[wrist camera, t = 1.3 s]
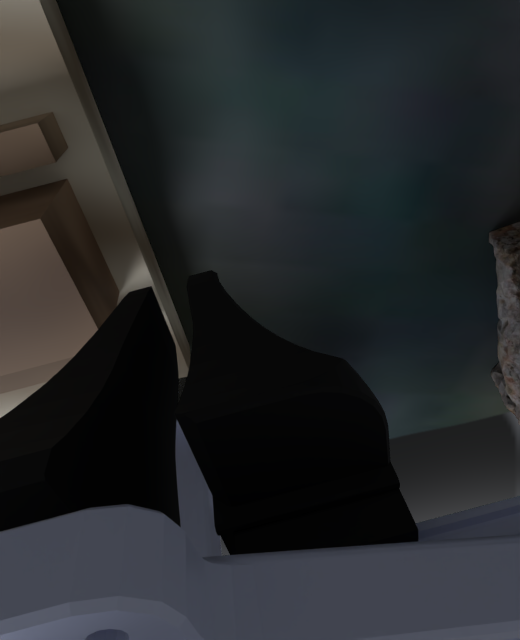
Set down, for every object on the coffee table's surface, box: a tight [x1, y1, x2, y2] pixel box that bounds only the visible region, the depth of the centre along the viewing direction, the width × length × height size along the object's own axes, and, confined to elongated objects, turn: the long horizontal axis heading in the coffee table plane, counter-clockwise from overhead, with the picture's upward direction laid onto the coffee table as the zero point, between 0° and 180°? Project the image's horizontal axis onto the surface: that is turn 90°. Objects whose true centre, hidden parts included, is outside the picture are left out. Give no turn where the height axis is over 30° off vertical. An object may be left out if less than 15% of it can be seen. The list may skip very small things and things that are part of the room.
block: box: [0, 179, 120, 376], centre depth 16 cm, size 5×5×4 cm
